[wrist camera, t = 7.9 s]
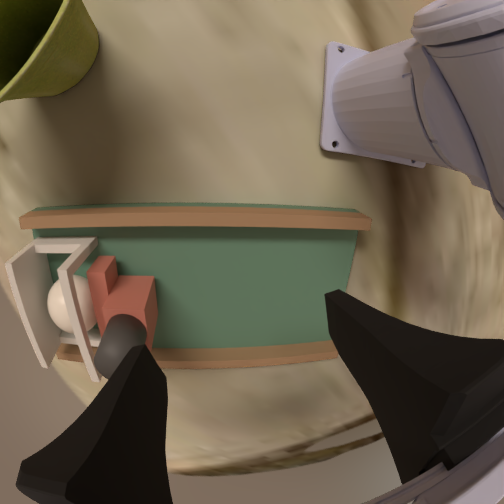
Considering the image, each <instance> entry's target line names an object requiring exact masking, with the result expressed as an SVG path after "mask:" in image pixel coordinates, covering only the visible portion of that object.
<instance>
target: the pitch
mask: <svg viewBox="0 0 504 504" xmlns="http://www.w3.org/2000/svg"><path fill="white" fill-rule="evenodd" d="M19 221H20V228H21V229H32V230H33V237H34V239H36V238H37V237H66V236H97V239H98V245H97V247H96V248H95V249H94V250H93V251H92V252H91V254H90V255H89V256H88V257H87V258H86V259H85V261H84V262H83V263H82V264H81V266H80V267H79V268H78V269H77V270H76V272H75V273H74V274H73V275H79V276H82V277H85V278H86V279H87V273H86V272H87V271H88V269H89V268H90V267H91V265H92V264H93V263H94V261H95V260H96V259H97V257H98V256H115V257H116V265H117V272H118V276H119V275H124V276H154V278H155V288H156V298H157V307H158V318H157V323H156V328H155V333H154V338H153V344H152V349H151V351H150V353H151V354H152V356H153V357H154V359H155V361H156V362H157V364H158V365H159V367H160V368H179V369H203V368H237V367H255V366H269V365H281V364H291V363H300V362H309V361H317V360H325V359H332V358H337V356H338V351H337V349H336V347H335V345H334V343H333V341H332V339H331V337H330V335H329V330H328V321H327V312H326V304H325V296H324V294H326V293H329V292H332V291H334V290H337V289H340V290H342V291H343V292H345V291H346V287H347V283H348V278H349V274H350V269H351V265H352V260H353V255H354V250H355V245H356V240H357V235H358V230H370V228H371V222H372V219H371V218H369V217H368V216H366V215H364V214H362V213H360V212H359V211H357V210H355V209H343V208H328V207H311V206H292V205H269V204H237V203H126V204H95V205H74V206H56V207H41V208H35V209H33V210H32V211H30V212H28V213H26V214H25V215H23V216H21V217H19ZM71 254H72V253H47V257H48V262H49V267H50V272H51V276H52V280H53V284H54V283H55V282H56V281H57V280H58V279H59V277H58V272H57V269H58V268H59V267H60V266H61V265H62V264H63V263H64V262H65V261H66V259H67V258H68V257H69V256H70V255H71ZM93 328H96V329H99V327H98V323H96V324H95V325H94V327H93ZM91 347H92V350H93V353H94V356H95V354H96V351H97V349H98V347H95V346H91ZM56 354H57V357H58V359H62V360H69V361H76V362H84V360H83V357H82V355H81V352H80V349H79V346H78V345H75V344H66V343H61V344H60V346H59V348H58V350H57V352H56Z"/></svg>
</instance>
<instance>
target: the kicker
mask: <svg viewBox="0 0 504 504" xmlns="http://www.w3.org/2000/svg"><path fill="white" fill-rule="evenodd" d="M86 273H87V279H88V284H89V289H90V293H91V298H92V302H93V307H94V311H95V315H96V319H97V323H98V327H99V331H100V334H101V341H100V343H99V346H98V349H97V351H96V354H95V356H94V365H95V367H96V369H97V371H98V372H99V373H100V374H101V375H102V376H104V377H105V378H107V379H110V377H111V376H112V374H113V373H114V371H115V370H116V368H117V367H118V366H119V364H120V363H121V361H122V360H123V358H124V357H125V356H126V354H127V353H128V352H129V350H130V349H131V348H132V347H134V346H138V345H143V344H146V346H147V348H148V349H149V351H151V349H152V344H153V338H154V333H155V328H156V323H157V318H158V307H157V298H156V288H155V278H154V276H124V275H119V276H118V272H117V265H116V257H115V256H98V257H97V259H96V260H95V261H94V263H93V264H92V265H91V267H90V268H89V269H88V271H87V272H86Z"/></svg>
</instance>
